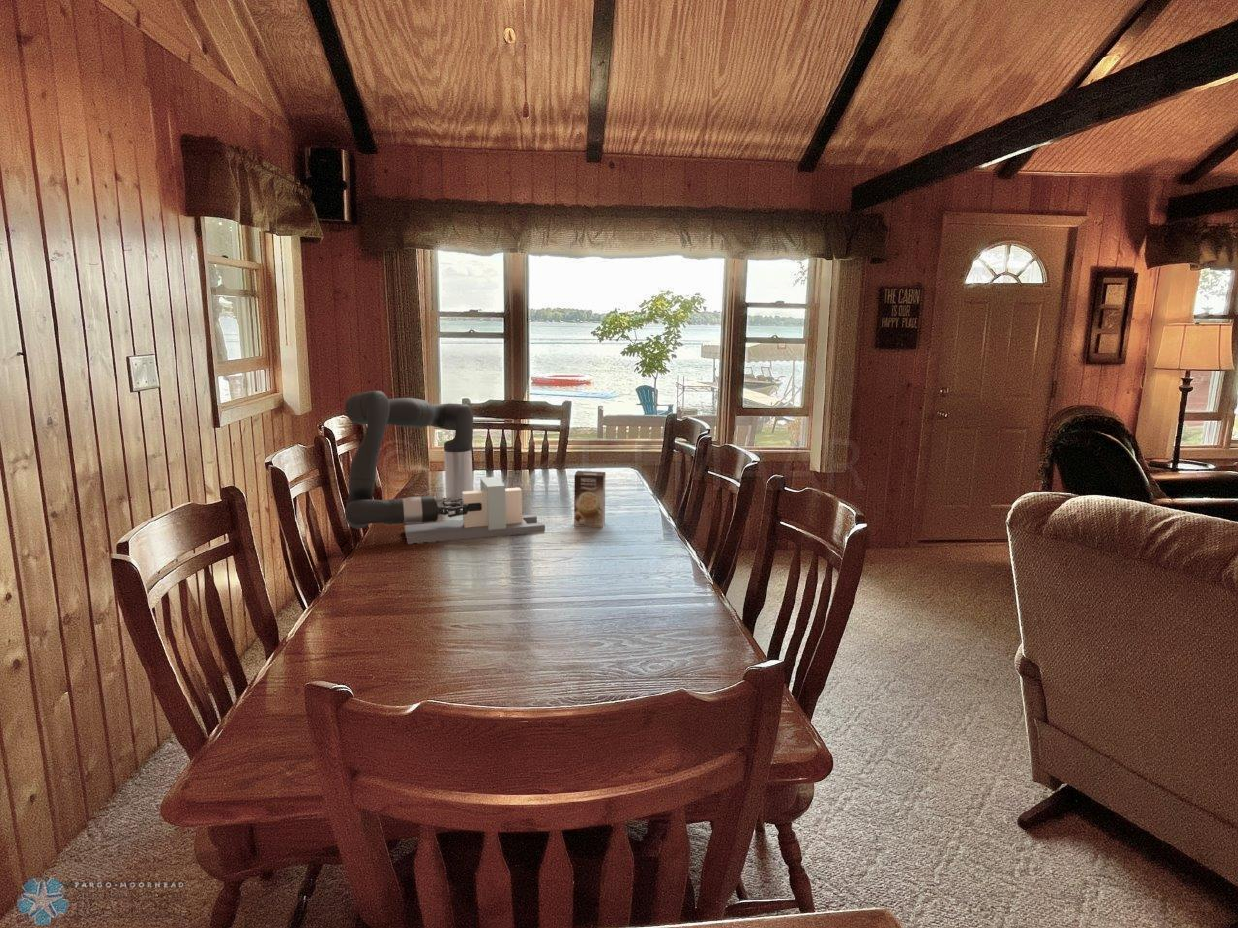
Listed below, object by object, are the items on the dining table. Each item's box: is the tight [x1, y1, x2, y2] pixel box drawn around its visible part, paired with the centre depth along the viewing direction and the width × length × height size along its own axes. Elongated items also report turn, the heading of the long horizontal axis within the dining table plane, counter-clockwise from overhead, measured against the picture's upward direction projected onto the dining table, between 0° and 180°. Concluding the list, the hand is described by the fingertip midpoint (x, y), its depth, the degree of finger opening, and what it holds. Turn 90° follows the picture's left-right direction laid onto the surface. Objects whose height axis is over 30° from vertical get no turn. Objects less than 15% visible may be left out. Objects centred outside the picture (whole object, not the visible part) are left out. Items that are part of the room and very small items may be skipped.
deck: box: [403, 513, 546, 545], centre depth 213 cm, size 13×39×2 cm, turn 110°
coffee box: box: [573, 470, 606, 528], centre depth 221 cm, size 9×6×16 cm
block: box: [462, 487, 523, 528], centre depth 214 cm, size 3×17×10 cm, turn 110°
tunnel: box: [479, 476, 506, 530], centre depth 214 cm, size 13×5×13 cm, turn 20°
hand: (479, 504), depth 213 cm, fingers closed on block, 3 cm apart
